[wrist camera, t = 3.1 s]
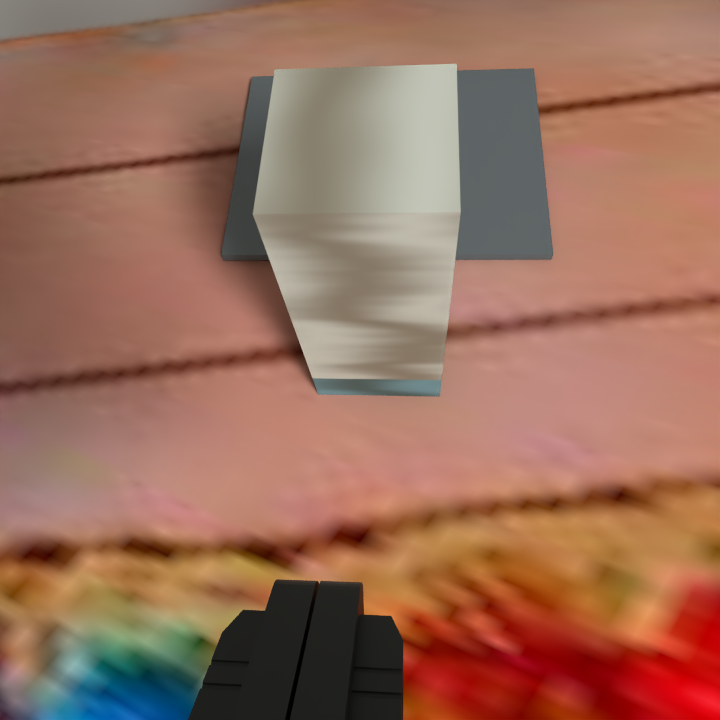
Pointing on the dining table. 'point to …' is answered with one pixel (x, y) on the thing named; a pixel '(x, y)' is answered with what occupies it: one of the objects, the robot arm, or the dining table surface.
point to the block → (364, 220)
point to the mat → (476, 163)
